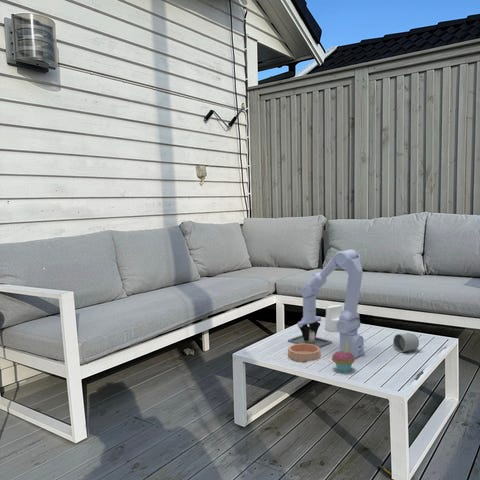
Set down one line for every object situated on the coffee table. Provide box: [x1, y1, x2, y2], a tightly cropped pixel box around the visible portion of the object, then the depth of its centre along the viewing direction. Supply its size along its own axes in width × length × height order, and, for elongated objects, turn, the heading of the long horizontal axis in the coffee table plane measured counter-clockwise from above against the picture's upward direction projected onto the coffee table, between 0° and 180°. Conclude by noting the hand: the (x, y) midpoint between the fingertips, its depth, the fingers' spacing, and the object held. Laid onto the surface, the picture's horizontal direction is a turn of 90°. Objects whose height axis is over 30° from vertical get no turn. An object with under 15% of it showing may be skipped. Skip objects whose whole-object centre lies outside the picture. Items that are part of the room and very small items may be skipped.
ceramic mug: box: [392, 332, 420, 353], centre depth 194 cm, size 11×8×8 cm
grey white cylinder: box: [324, 304, 343, 333], centre depth 225 cm, size 9×9×12 cm
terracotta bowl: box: [287, 343, 321, 363], centre depth 188 cm, size 13×13×4 cm
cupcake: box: [331, 342, 356, 373], centre depth 172 cm, size 9×8×12 cm
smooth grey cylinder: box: [305, 330, 315, 344], centre depth 204 cm, size 5×5×5 cm
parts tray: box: [287, 334, 333, 349], centre depth 205 cm, size 16×12×1 cm
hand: (309, 339), depth 205 cm, fingers closed on smooth grey cylinder, 5 cm apart
